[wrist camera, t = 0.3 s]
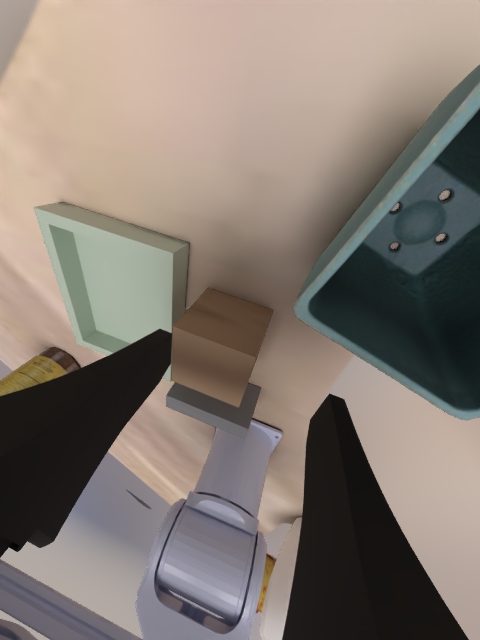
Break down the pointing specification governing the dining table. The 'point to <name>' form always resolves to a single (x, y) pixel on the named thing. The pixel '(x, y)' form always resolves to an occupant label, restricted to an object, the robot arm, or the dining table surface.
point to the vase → (280, 587)
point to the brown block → (218, 345)
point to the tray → (114, 276)
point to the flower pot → (413, 265)
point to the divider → (215, 408)
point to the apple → (265, 582)
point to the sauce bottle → (38, 371)
